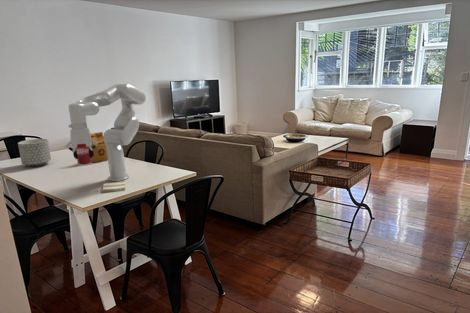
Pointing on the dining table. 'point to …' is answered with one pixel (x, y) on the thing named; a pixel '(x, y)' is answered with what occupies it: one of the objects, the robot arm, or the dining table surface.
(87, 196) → the dining table surface
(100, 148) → the coffee package
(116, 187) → the birch board
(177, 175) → the dining table surface
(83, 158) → the soda can
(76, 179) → the dining table surface
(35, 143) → the planter
